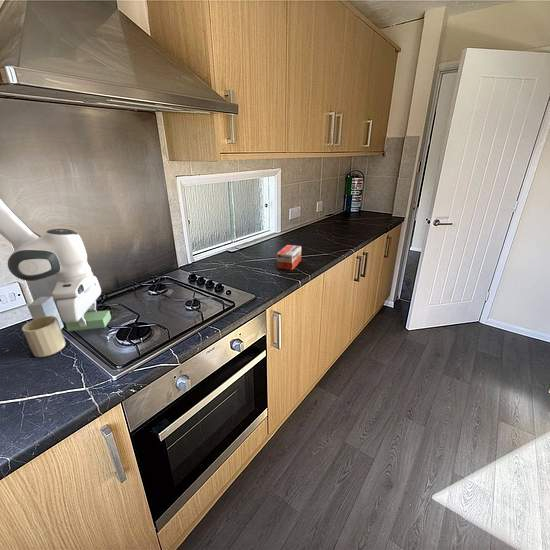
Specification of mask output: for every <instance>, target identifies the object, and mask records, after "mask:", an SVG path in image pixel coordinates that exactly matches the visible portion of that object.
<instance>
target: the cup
mask: <svg viewBox="0 0 550 550" xmlns="http://www.w3.org/2000/svg"><path fill="white" fill-rule="evenodd" d="M21 330H22V333H23V335H24V337H25V340H26V342H27V345H28V346H29V349H30V352H31V353H32V355H33V356H34V357H36V358H44V357H48V356H52V355H54V354H57V353H58V352H60V351H62V350H63V349H64V348H65V347H66V346H67V345H66V344H67V343H66V342H67V341H66V339H65V337H64V333H63V331H62V329H61V328H60V325H59V323H58V320H57V318H56V317H55V316H45V317H40V318H37V319H34V320H33V319H32V320H30V321H28V322H26V323H25V324H23V326H22V327H21Z"/></svg>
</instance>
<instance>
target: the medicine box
mask: <svg viewBox="0 0 550 550" xmlns="http://www.w3.org/2000/svg"><path fill="white" fill-rule="evenodd" d="M300 262H302V246H301V245H293V244H286V245H285V246H284V247H283V248H281V249H280V250H279V251H278V252H277V253H276V269H279V270H286V271H293V270H294V269H295V268H296V267H297V266H298V265H299V264H300Z"/></svg>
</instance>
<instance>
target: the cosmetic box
mask: <svg viewBox="0 0 550 550" xmlns="http://www.w3.org/2000/svg"><path fill="white" fill-rule="evenodd" d="M27 309H28V312H29V313H30V315H31V318H32V320H34V319H37V318H40V317H45V316H55V317H56V318H57V320H58V323H59V325H60V328H61V330H63V328H64V327H65V326H64V322H63V320H62V318H61V316H60V313H59V311H58V308H57V304H56V303H55V299H54V298H53V296H39V297H37V298H36V299H35V300H34V301H32V302H31V303H30V304H28V305H27Z"/></svg>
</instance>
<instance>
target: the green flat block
mask: <svg viewBox="0 0 550 550" xmlns="http://www.w3.org/2000/svg"><path fill="white" fill-rule="evenodd" d="M96 311H97V310H96ZM83 318H84V319H85V320H86V319H87V322H88V324H87V325H86V327H80V325H79V323H78V322H73V323H65V322H64V323H65V327H66V330H67V332H73V331H83V330H84V331H85V330H93V329H103V328H107V325H108V324H109V322H110V321H111V319H112V314H111V311H110V309H107V310H98V311H97V312H89V311H86V312H85V314H84V317H83Z"/></svg>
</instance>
